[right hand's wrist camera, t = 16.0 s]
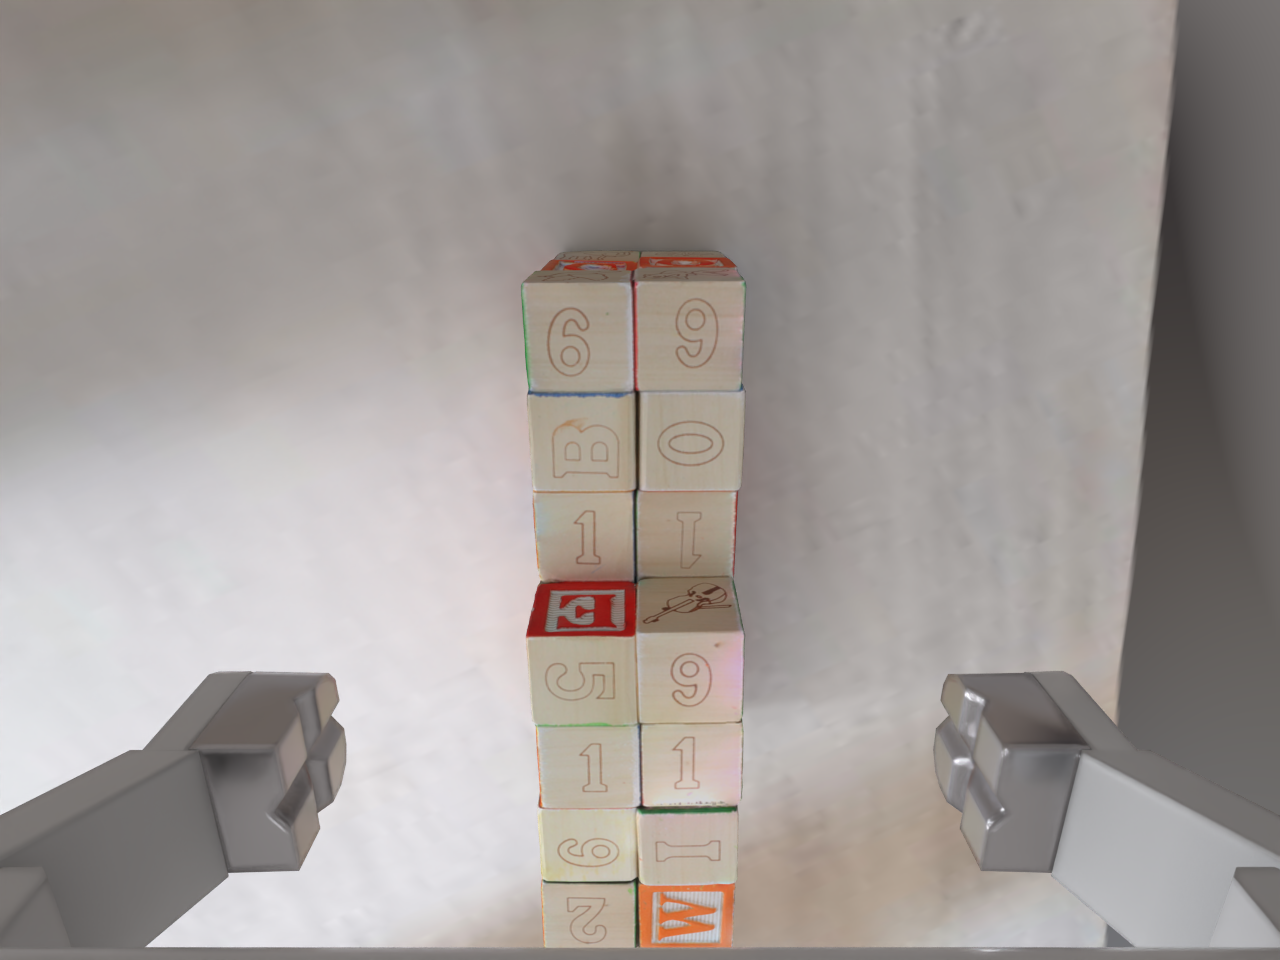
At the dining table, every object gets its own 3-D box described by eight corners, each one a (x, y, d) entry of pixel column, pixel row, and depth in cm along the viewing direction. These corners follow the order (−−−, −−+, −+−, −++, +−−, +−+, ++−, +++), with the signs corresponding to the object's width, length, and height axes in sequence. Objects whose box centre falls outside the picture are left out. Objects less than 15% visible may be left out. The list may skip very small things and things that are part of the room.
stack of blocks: (555, 248, 30) (501, 291, 18) (722, 248, 30) (773, 292, 18) (572, 720, 37) (541, 961, 26) (705, 720, 37) (733, 961, 26)
